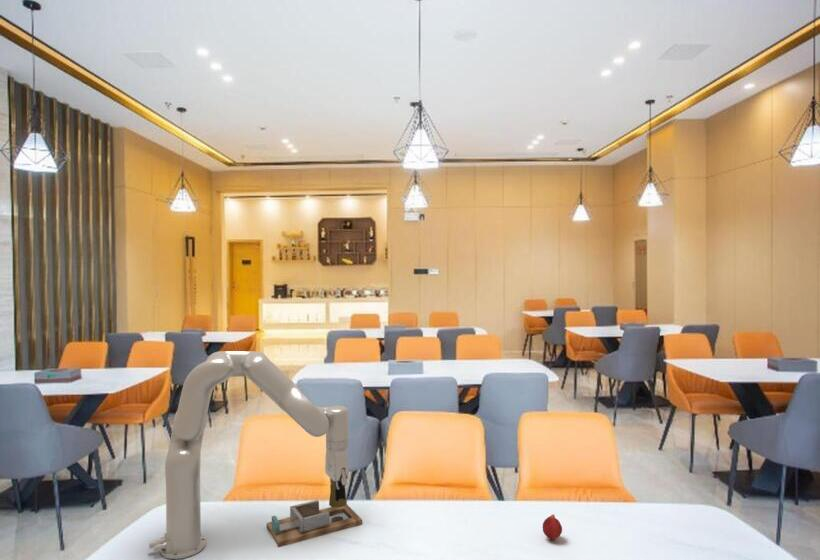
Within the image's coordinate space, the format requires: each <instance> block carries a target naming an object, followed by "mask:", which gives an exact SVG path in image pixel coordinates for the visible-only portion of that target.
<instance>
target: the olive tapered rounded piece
mask: <svg viewBox="0 0 820 560" xmlns="http://www.w3.org/2000/svg"><path fill="white" fill-rule="evenodd" d="M340 479H341V477H340ZM330 480H331V481H332V483H330V484H331V492H330V494H329V501H328V505H329V507H335V508H338V507H343V506H345V505H346V504H347V505H348V501H347V493H346V492H347V491H345V499H344V500H343V499H339V500H338V501H336V489H337V487H336V482H335V481H333V480H332V479H331V478H330V477H329V481H330ZM341 482H342V481H340V482H339V484H340V483H341Z"/></svg>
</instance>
